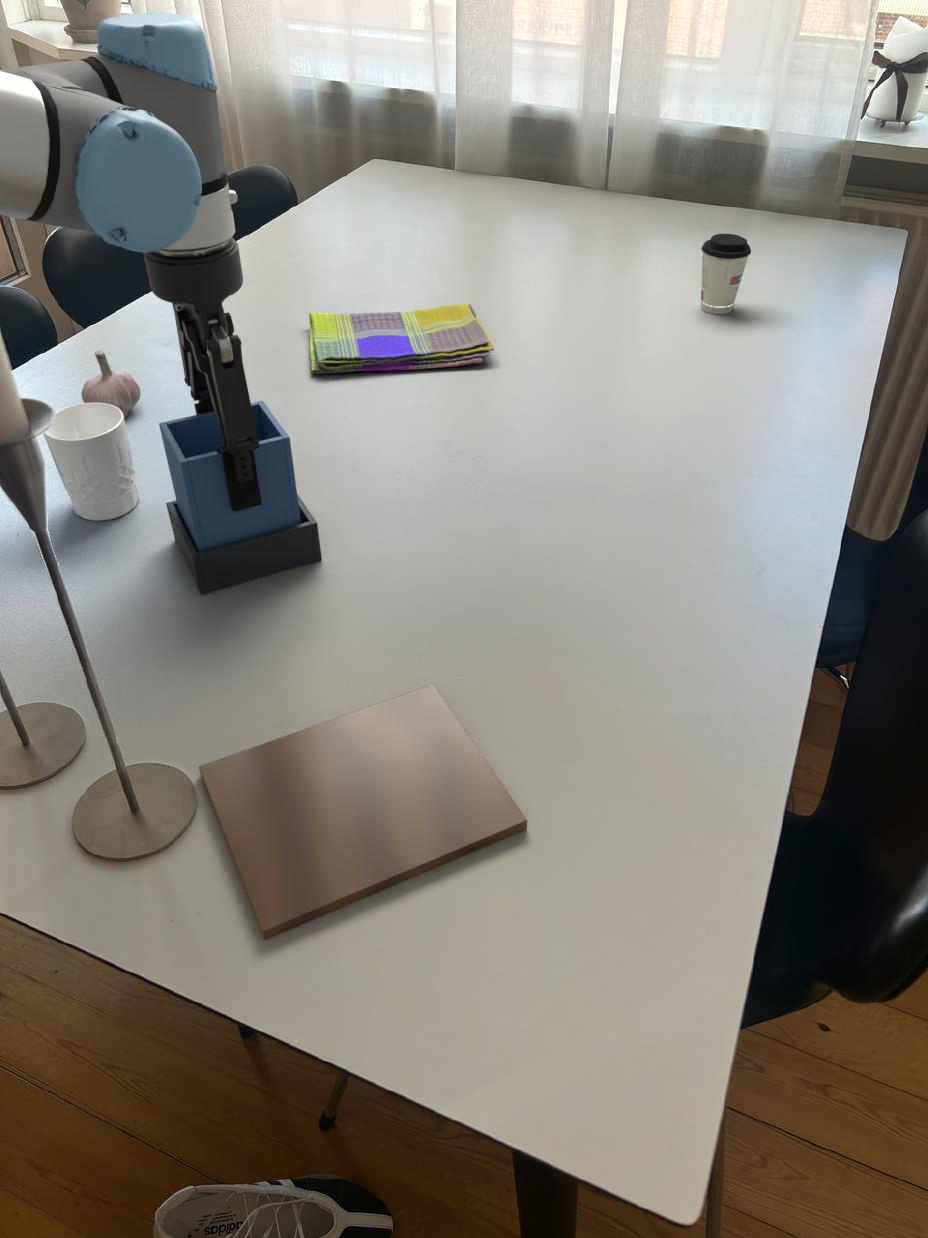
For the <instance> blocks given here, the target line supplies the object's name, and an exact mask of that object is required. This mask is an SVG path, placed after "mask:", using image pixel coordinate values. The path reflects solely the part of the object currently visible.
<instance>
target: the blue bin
mask: <svg viewBox="0 0 928 1238" xmlns="http://www.w3.org/2000/svg"><path fill="white" fill-rule="evenodd" d="M251 408H252V413H253V418H254V423H255V428H256V433H257V438H258V440H259V448H258V449H254V450H253V451H254V458H255V464H256V470H257V476H258V483H259V489H260V495H261V502H262V505H258V506H254V507H250V508H247V509H243V510H239V511H235V512H233V510H232V508H231V504H230V498H229V493H228V487H227V482H226V476H225V471H224V466H223V460H222V455H221V453H220V454H217V452H216V449H215V447H216V446H220V445H222V439H221V435H220V431H219V427H218V423H217V419H216V416H215V412H214V411H212V412H208V413H203V414H199V415H196V414H194V415H190V416H186V417H181V418H176V419H171V420H167V421H163V422H162V421H161V422H158V427H159V430H160V434H161V439H162V443H163V448H164V452H165V457H166V462H167V465H168V470H169V475H170V478H171V483H172V487H173V493H174V496H175V500H176V501H177V505H178V510H179V514H180V519H181V521H182V523H183V525H184V527H185V529H186V531H187V533H188V535H189V537H190V539H191V541H192V543H193V545H194V547H195V549H196V551H197V552H200V551H203V550H207V549H211V548H214V547H218V546H222V545H225V544H229V543H233V542H236V541H240V540H244V539H247V538H251V537H254V536H258V535H262V534H265V533H269V532H273V531H276V530H280V529H284V528H287V527H291V526H294V525H298V524H301V520H300V512H299V505H298V497H297V494H298V491H297V483H296V475H295V468H294V460H293V452H292V445H291V443H292V442H291V437H290V436H289V434H288V433H287V432H286V430H285V429H284V427H283V426H282V424H281V423H280V422H279V421H278V420H277V418H276V416H275V415H274V414H273V413H272V411H271V409H270V408H269V407H268V406H267V404H266V403H265V402H264V400H258V401H254V402H253V401H252V402H251Z"/></svg>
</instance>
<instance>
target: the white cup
mask: <svg viewBox="0 0 928 1238" xmlns="http://www.w3.org/2000/svg"><path fill="white" fill-rule="evenodd" d="M55 412H56V420H55V422H54V424H53V425H52V426H51V427H50V428H49V429H48V430H47V431H45V432H44V433H43V436H44V438H45V441H46V443H47V446H48V450H49V451H50V454H51V457H52V460H53V462H54V465H55V467H56V469H57V472H58V475H59V477H60V480H61V482H62V485H63V486H64V490H65V491H66V492H67V495H68V496H69V500H70V502H71V505H72V507H73V510H74V513H75V514H76V515H77V516H79V517H80V518H83V519H84V520H89V521H97V522H100V521H108V520H113V519H116V518H119V517H122V516H125V515H127V514H128V513H129V512H131V511H132V510H133V509H134V508H136V506H137V504H138V502H139V500H140V497H139V491H138V487H137V483H136V477H135V476H136V472H135V466H134V461H133V456H132V450H131V445H130V439H129V435H128V430H127V427H126V422H125V418H124V416H123V413H122V411H121V410H120V409H119V408H117V407H116V406H113V405H110V404H106V403H84V402H83V403H77V404H72V405H69V406H65V407H63V408H61V409H59V410H56V411H55Z"/></svg>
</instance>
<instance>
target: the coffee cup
mask: <svg viewBox="0 0 928 1238" xmlns="http://www.w3.org/2000/svg"><path fill="white" fill-rule="evenodd" d="M700 249H701V251H702V257H701V259H702V260H701V283H700V284H701V285H700V309H701V310H702V311H703V312H705V313H709V314H713V315H726V314H729V313H730V312H732V310H733V307H734V305H735V301H736V299H737V295H738V291H739V288H740V284H741V282H742V278H743V276H744V271H745V268H746V265H747V261H748V259H749V256H750V255H751V254H752V249H751V246H750V244H749V243H748V239H747V238H745V237H743V236H740V235H738V234H734V233H717V234H714V235H712V236H711V237H710V239H707V240H706V241H704V242H703V244H702V246H701V248H700ZM701 300H702V301H703V302H704V303H706V304H708V305H712V306H728V305H731V304H733V303H734V304H733V305H732V306H730V307H725V308H715V307H710V306H707V305H705V304H703V303H702V302H701Z"/></svg>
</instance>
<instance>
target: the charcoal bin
mask: <svg viewBox="0 0 928 1238" xmlns="http://www.w3.org/2000/svg"><path fill="white" fill-rule="evenodd" d="M297 497H298V505H299V512H300V520H301V524H298V525H294V526H291V527H287V528H284V529H280V530H276V531H273V532H269V533H265V534H262V535H258V536H254V537H251V538H247V539H244V540H240V541H236V542H233V543H229V544H225V545H222V546H218V547H214V548H211V549H207V550H203V551H200V552H197V551H196V549H195V547H194V545H193V543H192V541H191V539H190V537H189V535H188V533H187V531H186V529H185V527H184V525H183V523H182V521H181V519H180V514H179V510H178V505H177V501H176V499H175V500H172V501H168V502H166V504H165V505H166V509H167V514H168V518H169V521H170V526H171V529H172V534H173V537H174V541H175V543H176V545H177V547H178V549H179V551H180V554H181V555H182V557H183V560H184V562H185V564H186V566H187V568H188V570H189V572H190V575H191V577H192V580H193V581H194V583H195V585H196V588H197V590H198V591H199V593H200V595H201V596H202V595H206V594H209V593H213V592H217V591H219V590H224V589H226V588H231V587H233V586H237V585H241V584H244V583H248V582H251V581H254V580H258V579H261V578H264V577H268V576H271V575H275V574H278V573H283V572H286V571H289V570H291V569H296V568H299V567H302V566H305V565H310V564H313V563H316V562H320V561H322V560H323V557H322V551H321V543H320V542H321V541H320V533H319V525H318V521H317V520H316V519H315V518H314V516H313V515H312V513H311V512H310V510H309V509H308V507H307V506H306V504H305V503H304V501H303V500H302V498H301V497H300V495H299V494H298V493H297Z"/></svg>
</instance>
